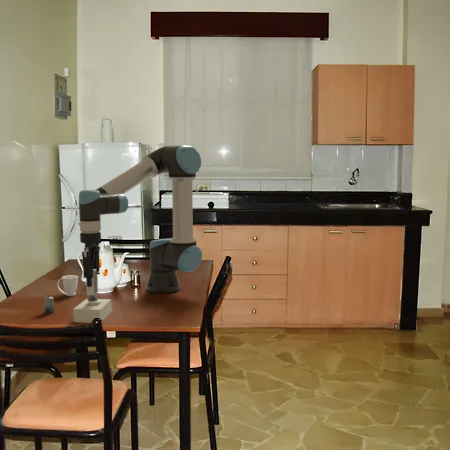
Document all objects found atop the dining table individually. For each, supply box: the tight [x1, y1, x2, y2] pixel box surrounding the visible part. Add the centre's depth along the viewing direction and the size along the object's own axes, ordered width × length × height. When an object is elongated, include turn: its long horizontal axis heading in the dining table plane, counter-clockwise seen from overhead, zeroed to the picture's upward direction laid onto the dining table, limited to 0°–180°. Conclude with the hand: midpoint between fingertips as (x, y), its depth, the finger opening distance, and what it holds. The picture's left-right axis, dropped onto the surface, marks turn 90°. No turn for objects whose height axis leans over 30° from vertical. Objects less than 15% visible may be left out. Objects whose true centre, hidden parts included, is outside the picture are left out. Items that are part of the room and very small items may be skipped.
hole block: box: [72, 298, 113, 324], centre depth 204 cm, size 10×14×5 cm
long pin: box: [86, 268, 98, 302], centre depth 203 cm, size 4×4×12 cm
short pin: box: [43, 295, 55, 315], centre depth 210 cm, size 4×4×6 cm
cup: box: [56, 274, 79, 297], centre depth 237 cm, size 7×10×8 cm
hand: (92, 293), depth 204 cm, fingers closed on long pin, 3 cm apart
